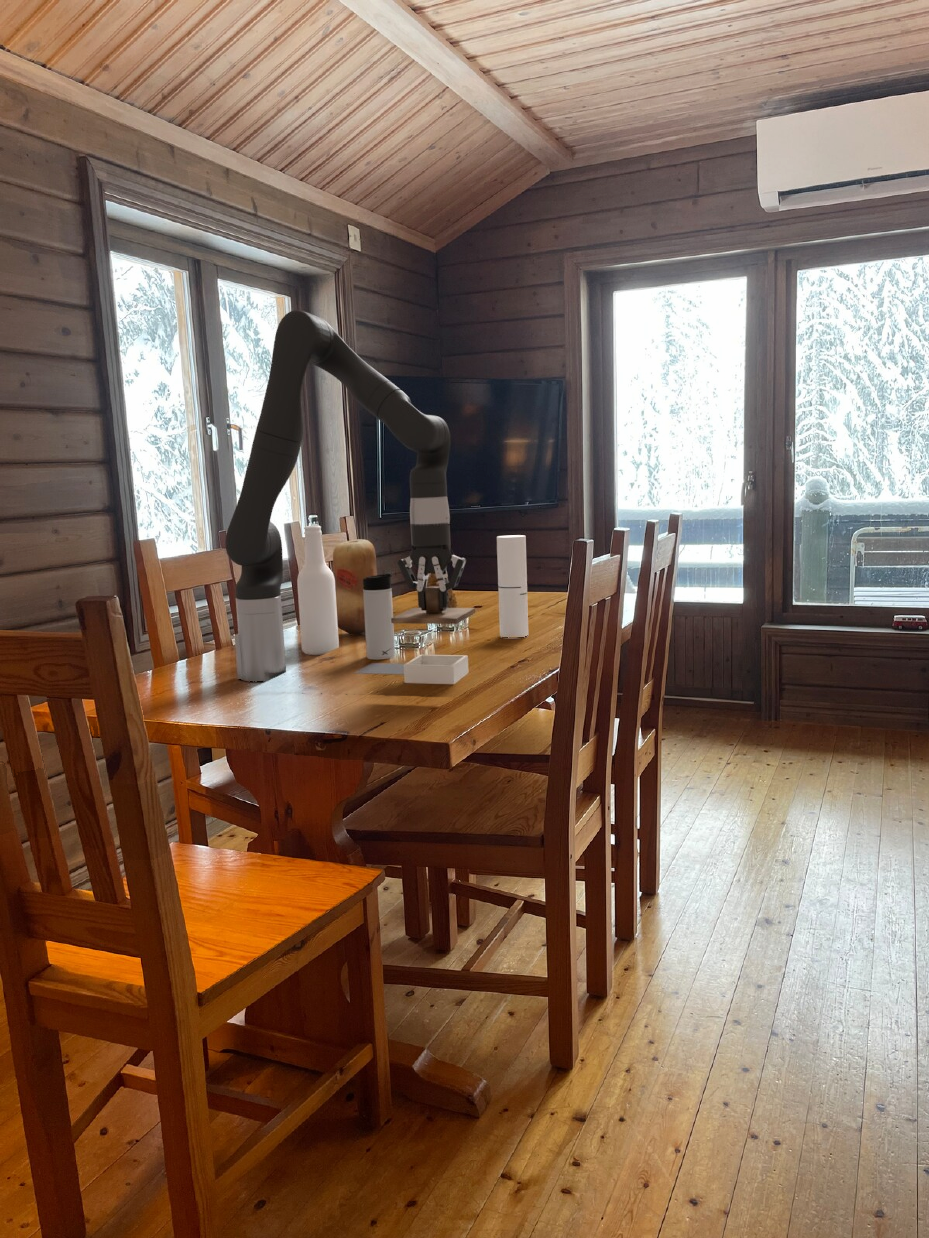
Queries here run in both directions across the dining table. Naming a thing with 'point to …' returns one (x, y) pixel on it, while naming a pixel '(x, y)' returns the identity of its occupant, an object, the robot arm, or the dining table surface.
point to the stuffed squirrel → (434, 582)
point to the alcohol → (317, 598)
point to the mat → (383, 668)
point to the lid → (433, 611)
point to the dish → (436, 669)
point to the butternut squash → (352, 582)
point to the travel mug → (378, 616)
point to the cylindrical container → (512, 585)
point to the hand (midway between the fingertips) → (434, 609)
